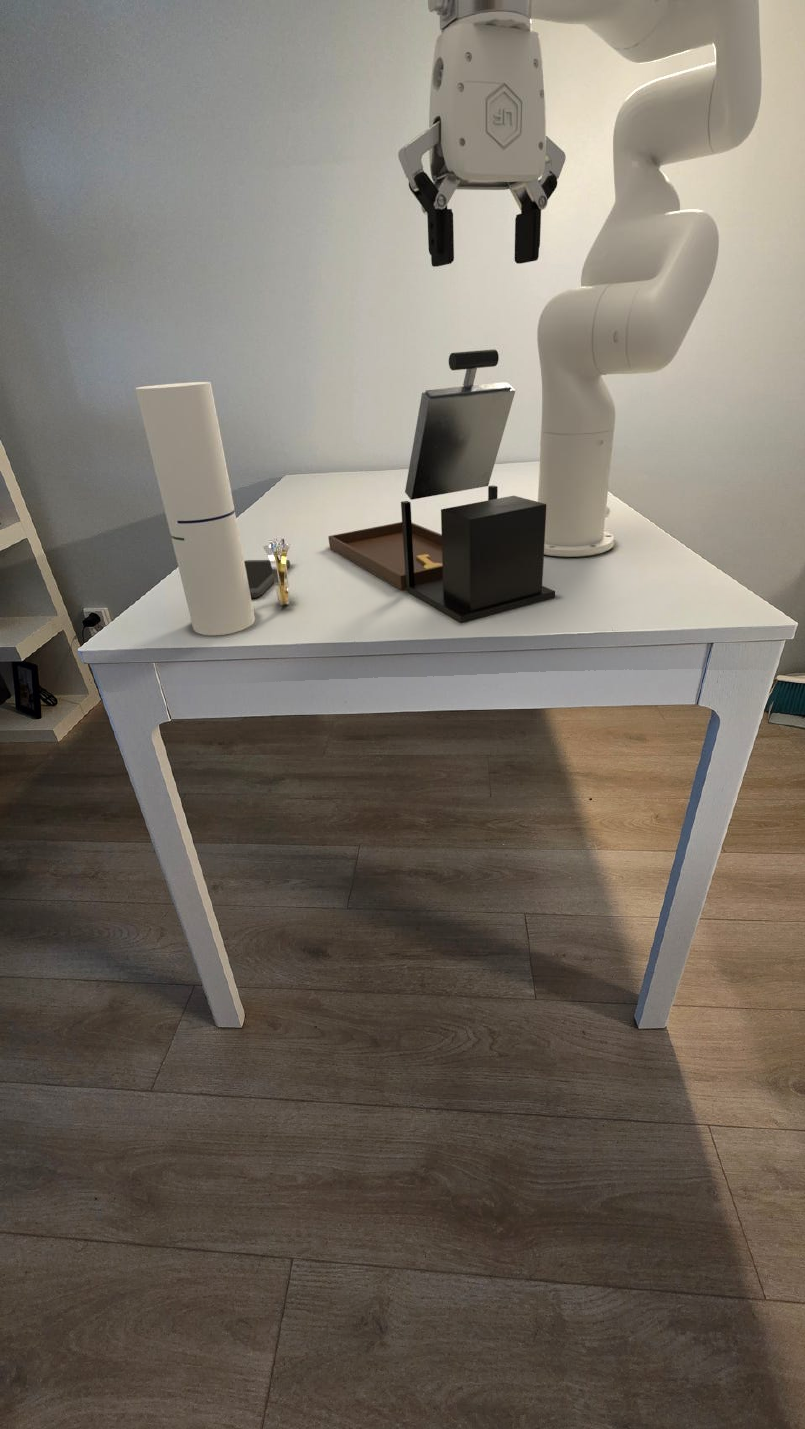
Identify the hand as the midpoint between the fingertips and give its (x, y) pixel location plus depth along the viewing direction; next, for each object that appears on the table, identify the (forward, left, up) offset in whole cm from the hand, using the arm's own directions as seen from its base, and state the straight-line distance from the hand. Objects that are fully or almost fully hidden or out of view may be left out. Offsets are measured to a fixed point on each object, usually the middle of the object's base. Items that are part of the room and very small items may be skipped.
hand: (485, 263), depth 63 cm
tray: (-7, -17, -33) cm, 38 cm away
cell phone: (+12, -30, -34) cm, 47 cm away
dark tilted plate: (0, -2, -15) cm, 15 cm away
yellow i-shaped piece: (-5, -12, -33) cm, 35 cm away
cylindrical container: (+24, -21, -34) cm, 46 cm away
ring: (+16, -19, -34) cm, 42 cm away
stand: (+1, 0, -33) cm, 33 cm away
